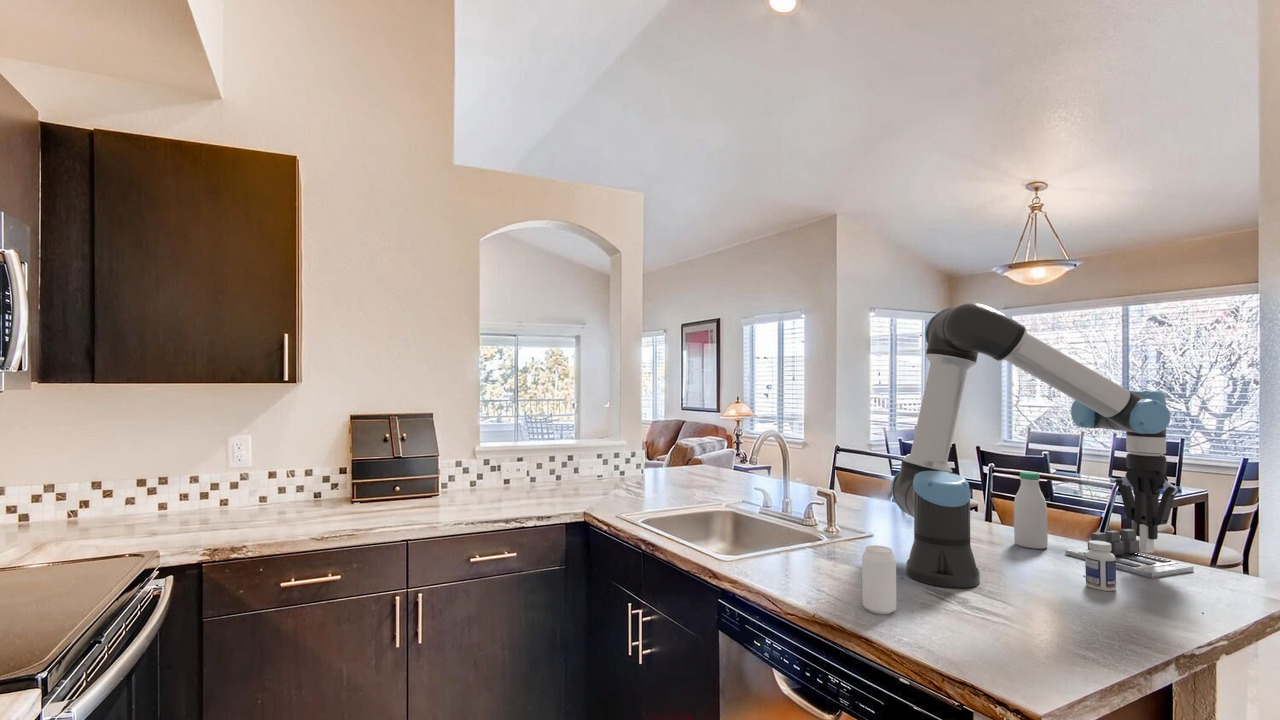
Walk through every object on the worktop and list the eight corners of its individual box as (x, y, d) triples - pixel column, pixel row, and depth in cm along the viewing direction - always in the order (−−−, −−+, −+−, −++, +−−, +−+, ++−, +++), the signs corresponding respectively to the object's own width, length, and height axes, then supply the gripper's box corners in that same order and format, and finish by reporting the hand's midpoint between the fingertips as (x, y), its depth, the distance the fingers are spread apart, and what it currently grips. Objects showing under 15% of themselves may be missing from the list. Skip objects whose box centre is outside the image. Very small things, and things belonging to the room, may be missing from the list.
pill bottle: (1112, 585, 135) (1111, 541, 136) (1119, 593, 131) (1118, 547, 131) (1083, 582, 138) (1082, 538, 138) (1088, 589, 133) (1087, 544, 133)
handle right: (1130, 553, 155) (1129, 531, 155) (1117, 550, 158) (1117, 529, 158) (1139, 552, 156) (1139, 530, 157) (1126, 549, 159) (1126, 528, 159)
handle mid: (1114, 555, 154) (1114, 533, 154) (1102, 551, 156) (1101, 530, 157) (1124, 553, 155) (1123, 532, 155) (1111, 550, 158) (1111, 529, 158)
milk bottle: (1052, 550, 163) (1051, 475, 164) (1021, 548, 165) (1019, 474, 166) (1040, 542, 171) (1038, 471, 172) (1009, 541, 173) (1008, 470, 173)
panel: (1151, 578, 141) (1151, 571, 141) (1065, 554, 159) (1065, 548, 159) (1193, 571, 146) (1193, 565, 146) (1105, 549, 164) (1105, 543, 164)
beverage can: (894, 618, 116) (893, 554, 116) (860, 612, 119) (859, 550, 119) (898, 608, 121) (897, 547, 122) (865, 602, 124) (864, 542, 125)
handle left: (1100, 557, 152) (1099, 535, 152) (1087, 554, 154) (1087, 532, 155) (1109, 556, 153) (1109, 534, 153) (1097, 552, 156) (1097, 531, 156)
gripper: (1187, 456, 144) (1188, 558, 143) (1127, 450, 156) (1128, 543, 155) (1166, 457, 141) (1167, 560, 141) (1107, 451, 154) (1107, 545, 153)
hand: (1146, 551), depth 148 cm, fingers closed
